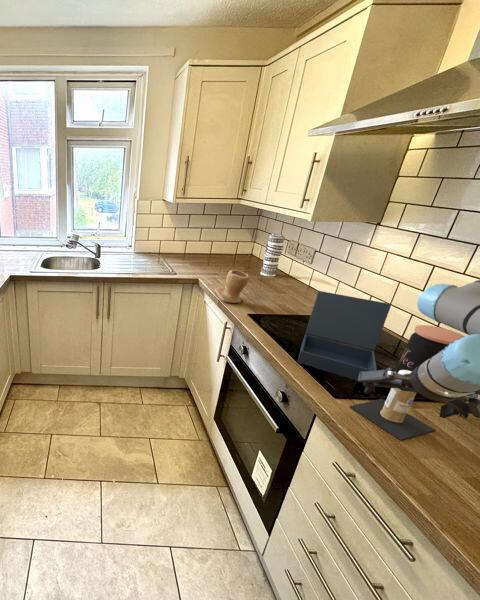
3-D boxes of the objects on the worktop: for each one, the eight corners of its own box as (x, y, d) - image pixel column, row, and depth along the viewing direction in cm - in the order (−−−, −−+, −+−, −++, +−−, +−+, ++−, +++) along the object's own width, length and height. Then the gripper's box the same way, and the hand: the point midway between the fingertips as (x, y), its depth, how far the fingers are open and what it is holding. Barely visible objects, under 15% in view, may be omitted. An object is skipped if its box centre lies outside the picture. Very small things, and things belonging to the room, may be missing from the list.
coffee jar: (394, 371, 102) (417, 321, 95) (442, 387, 94) (471, 334, 88) (388, 384, 96) (412, 332, 89) (439, 402, 88) (469, 347, 81)
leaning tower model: (258, 274, 197) (267, 234, 187) (260, 271, 204) (269, 232, 194) (275, 277, 192) (285, 236, 182) (276, 273, 199) (287, 234, 189)
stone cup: (247, 305, 152) (253, 276, 146) (221, 304, 153) (226, 274, 147) (237, 294, 165) (243, 266, 160) (213, 293, 167) (218, 265, 161)
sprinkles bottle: (399, 426, 79) (421, 382, 74) (376, 415, 83) (396, 372, 78) (405, 419, 82) (427, 376, 76) (383, 409, 85) (402, 367, 80)
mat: (434, 431, 79) (435, 429, 78) (400, 441, 76) (401, 439, 75) (381, 399, 89) (382, 398, 89) (349, 407, 86) (350, 405, 86)
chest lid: (391, 304, 100) (391, 303, 101) (318, 290, 111) (318, 290, 112) (374, 350, 104) (374, 349, 105) (305, 333, 115) (305, 332, 116)
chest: (371, 384, 96) (377, 372, 94) (297, 362, 106) (300, 351, 105) (368, 362, 107) (373, 351, 105) (301, 344, 118) (305, 333, 116)
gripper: (356, 372, 67) (336, 393, 84) (546, 427, 53) (476, 439, 70) (364, 341, 69) (342, 367, 86) (550, 386, 55) (481, 407, 72)
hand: (402, 399), depth 78 cm, fingers open, 13 cm apart
